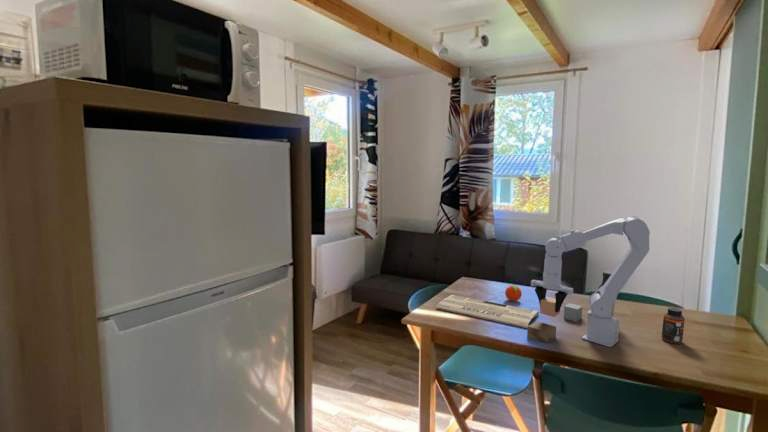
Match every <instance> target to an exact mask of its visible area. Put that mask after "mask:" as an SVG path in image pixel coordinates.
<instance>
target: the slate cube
mask: <svg viewBox="0 0 768 432" xmlns="http://www.w3.org/2000/svg"><path fill="white" fill-rule="evenodd" d="M563 307H564V309H563V319H566V320H569V321H573V322H579V321H580V320H582V318H583V306H582V305H578V304H574V303H571V302H570V303H569V302H568V304H566V305H564V306H563Z"/></svg>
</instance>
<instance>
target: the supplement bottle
mask: <svg viewBox="0 0 768 432" xmlns="http://www.w3.org/2000/svg"><path fill="white" fill-rule="evenodd" d="M682 314H683V310H682V309H681V308H677V307H672V306H671V307H667V312H666V313H664V315H663V321H662V329H661V339H662V340H663V341H665V342H667V343H671V344H675V343H679V344H681V343H683V340H684V339H683V338H684V330H685V329H684V328H685V320H686V319H685V317H684V316H683V315H682Z"/></svg>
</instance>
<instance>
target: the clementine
mask: <svg viewBox="0 0 768 432" xmlns="http://www.w3.org/2000/svg"><path fill="white" fill-rule="evenodd" d="M504 293H505V297H506V299H507V300H509V301H510V302H518V301H519V300H520V299H521V298H522V294H523V293H522V290H521V289H520V287H519V286H517V285H510V286H509V285H508V287H507V288H506V289H505V291H504Z"/></svg>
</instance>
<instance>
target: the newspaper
mask: <svg viewBox="0 0 768 432" xmlns="http://www.w3.org/2000/svg"><path fill="white" fill-rule="evenodd" d="M436 310H441V311H446V312H450V313H456V314H461V315H466V316H470V317H474V318H477V319H481V320H482V319H483V320H488V321H492V322H497V323H501V324H502V323H503V324H506V325H511V326H514V327H520V328H525V329H528V326H529V325H530V322H531V321H532V319H533V318H535V317H537V316H539V314H540V310H533V309H529V308H524V307H518V306H514V305H508V304H502V303H497V302H492V301H488V300H482V299H477V298H471V297H467V296H461V295H455V294H450V295H449V296H447V297H445V298H444V299H442V300H441V301H440V302H438V304H437V305H436Z"/></svg>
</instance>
